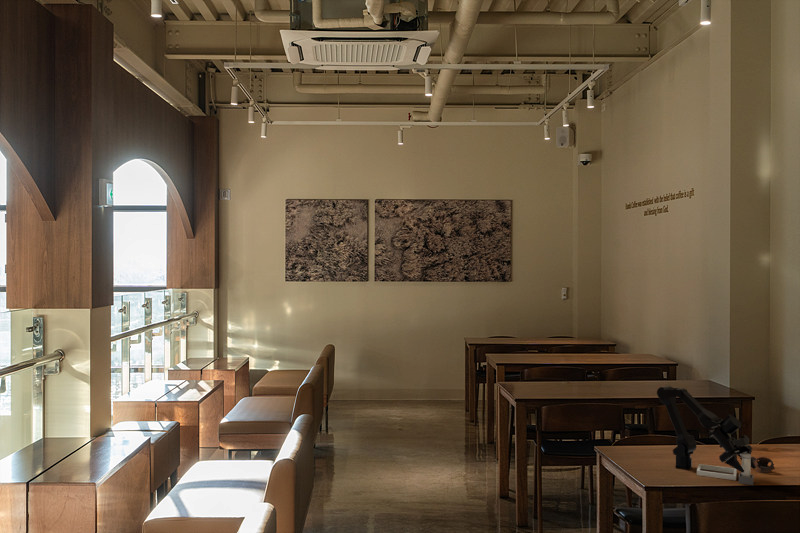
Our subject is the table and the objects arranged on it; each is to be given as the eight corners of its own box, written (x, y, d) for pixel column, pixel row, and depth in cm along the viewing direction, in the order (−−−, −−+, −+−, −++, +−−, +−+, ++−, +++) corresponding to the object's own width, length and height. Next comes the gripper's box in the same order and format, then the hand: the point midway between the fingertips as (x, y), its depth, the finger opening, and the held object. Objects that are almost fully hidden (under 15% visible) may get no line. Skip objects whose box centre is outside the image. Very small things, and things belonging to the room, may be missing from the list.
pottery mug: (778, 473, 315) (779, 460, 312) (767, 485, 311) (768, 472, 307) (752, 461, 325) (753, 448, 321) (742, 472, 320) (742, 459, 316)
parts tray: (696, 477, 308) (696, 470, 308) (698, 470, 319) (698, 463, 319) (735, 482, 300) (736, 475, 300) (736, 475, 311) (736, 468, 311)
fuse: (741, 482, 297) (741, 454, 297) (741, 480, 300) (741, 452, 300) (750, 484, 295) (750, 455, 295) (750, 481, 298) (751, 453, 298)
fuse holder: (738, 485, 296) (738, 476, 296) (738, 481, 302) (739, 472, 301) (753, 487, 294) (753, 478, 294) (753, 483, 299) (753, 474, 299)
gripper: (725, 432, 295) (751, 463, 286) (748, 426, 306) (773, 456, 297) (708, 446, 302) (732, 477, 293) (731, 440, 313) (755, 470, 304)
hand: (749, 470), depth 297 cm, fingers open, 9 cm apart
